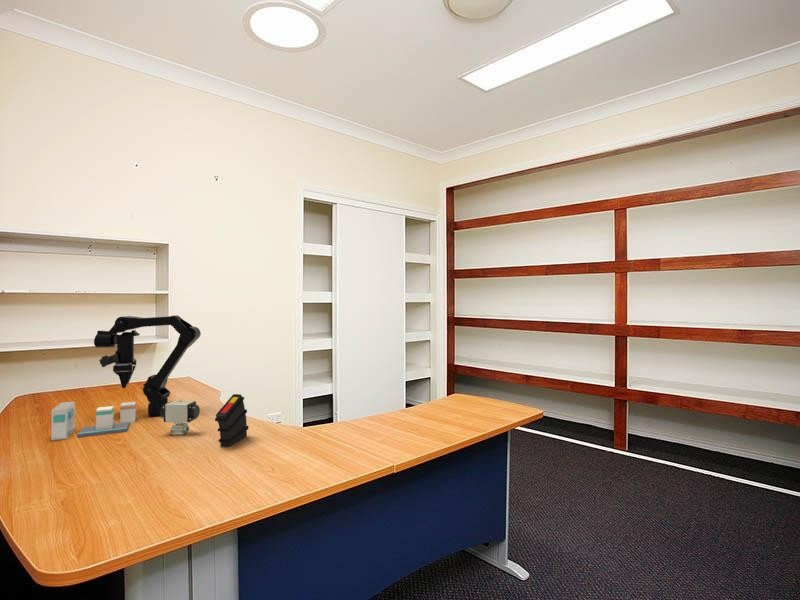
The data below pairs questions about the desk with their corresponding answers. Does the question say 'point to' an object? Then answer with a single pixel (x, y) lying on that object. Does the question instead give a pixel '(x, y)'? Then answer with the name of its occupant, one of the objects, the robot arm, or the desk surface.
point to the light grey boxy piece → (128, 412)
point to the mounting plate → (115, 429)
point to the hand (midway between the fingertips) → (125, 386)
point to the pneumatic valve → (180, 415)
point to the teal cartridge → (104, 418)
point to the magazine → (232, 421)
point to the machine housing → (63, 420)
